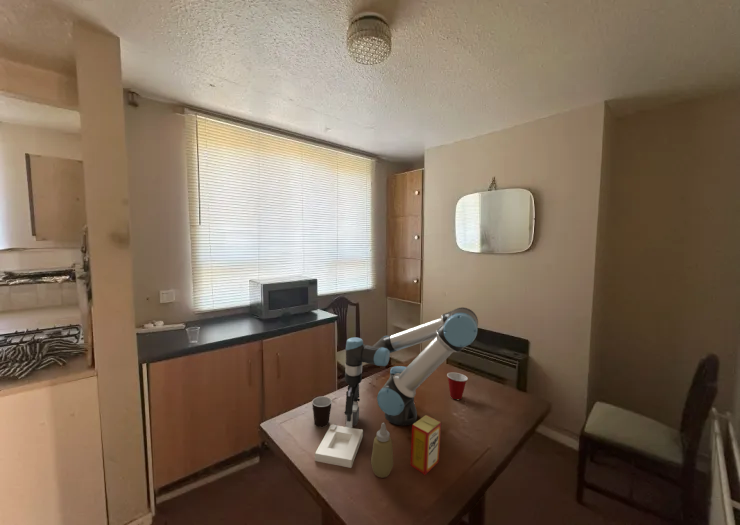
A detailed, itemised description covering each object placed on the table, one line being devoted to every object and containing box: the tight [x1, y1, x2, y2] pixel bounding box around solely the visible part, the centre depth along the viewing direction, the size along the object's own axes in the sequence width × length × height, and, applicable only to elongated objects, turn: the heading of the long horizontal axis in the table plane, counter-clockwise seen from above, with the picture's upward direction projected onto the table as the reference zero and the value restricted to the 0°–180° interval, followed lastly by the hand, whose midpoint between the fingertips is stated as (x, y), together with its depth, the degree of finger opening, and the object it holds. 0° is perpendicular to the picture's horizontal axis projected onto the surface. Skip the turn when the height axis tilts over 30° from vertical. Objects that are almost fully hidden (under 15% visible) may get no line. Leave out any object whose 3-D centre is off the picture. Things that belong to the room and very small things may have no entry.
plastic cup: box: [446, 372, 468, 400], centre depth 161 cm, size 11×11×12 cm
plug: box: [352, 405, 360, 426], centre depth 137 cm, size 5×4×7 cm
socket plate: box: [314, 424, 364, 469], centre depth 119 cm, size 14×18×4 cm
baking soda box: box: [409, 414, 442, 476], centre depth 112 cm, size 10×6×16 cm
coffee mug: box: [311, 395, 333, 428], centre depth 136 cm, size 12×9×10 cm
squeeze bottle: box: [370, 422, 394, 479], centre depth 107 cm, size 8×8×18 cm
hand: (351, 420), depth 137 cm, fingers open, 9 cm apart
